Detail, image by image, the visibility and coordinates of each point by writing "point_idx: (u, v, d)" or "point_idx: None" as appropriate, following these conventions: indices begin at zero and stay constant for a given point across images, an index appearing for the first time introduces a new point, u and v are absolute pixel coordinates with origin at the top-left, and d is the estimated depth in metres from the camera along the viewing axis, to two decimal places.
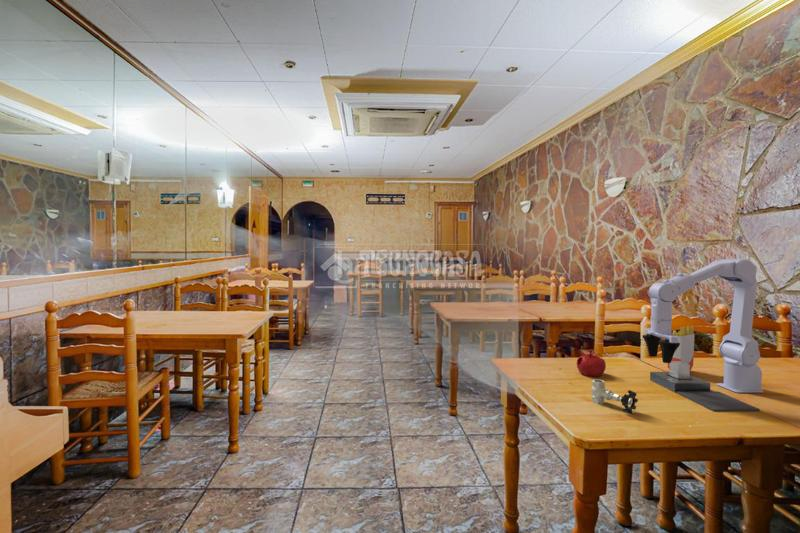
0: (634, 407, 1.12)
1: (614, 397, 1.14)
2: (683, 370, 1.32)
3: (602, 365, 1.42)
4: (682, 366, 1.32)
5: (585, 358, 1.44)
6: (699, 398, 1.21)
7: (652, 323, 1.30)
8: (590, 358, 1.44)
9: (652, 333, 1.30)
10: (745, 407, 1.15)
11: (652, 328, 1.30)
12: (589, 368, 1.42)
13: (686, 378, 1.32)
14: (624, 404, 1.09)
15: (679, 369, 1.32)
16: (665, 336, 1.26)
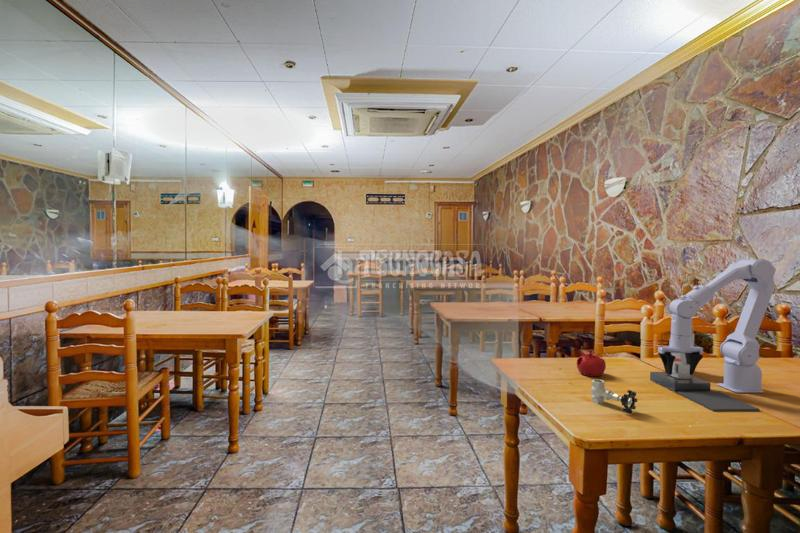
0: (634, 407, 1.12)
1: (614, 397, 1.14)
2: (683, 370, 1.32)
3: (602, 365, 1.42)
4: (682, 366, 1.32)
5: (585, 358, 1.44)
6: (699, 398, 1.21)
7: None
8: (590, 358, 1.44)
9: None
10: (745, 407, 1.15)
11: None
12: (589, 368, 1.42)
13: (686, 378, 1.32)
14: (624, 404, 1.10)
15: (679, 369, 1.32)
16: None
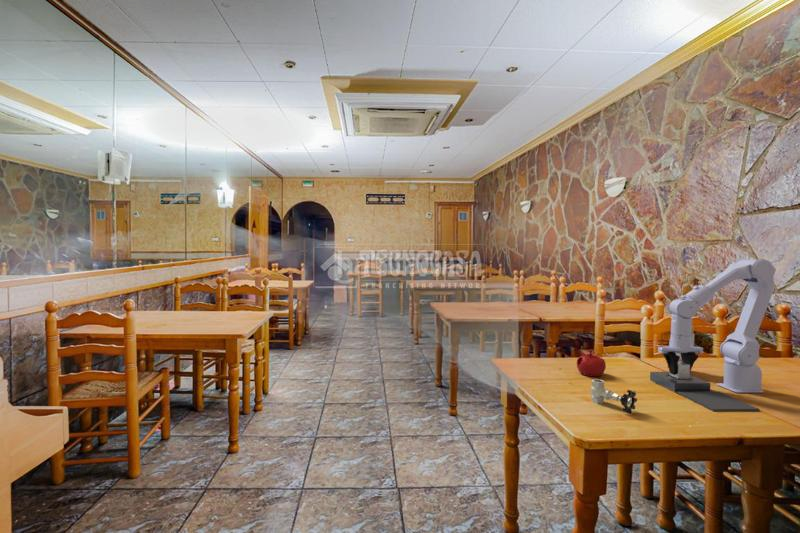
0: (633, 407, 1.12)
1: (613, 397, 1.15)
2: (683, 370, 1.32)
3: (602, 365, 1.42)
4: (682, 366, 1.32)
5: (585, 358, 1.44)
6: (699, 398, 1.21)
7: None
8: (590, 358, 1.44)
9: None
10: (745, 407, 1.15)
11: None
12: (589, 368, 1.42)
13: (686, 378, 1.32)
14: (623, 404, 1.10)
15: (679, 369, 1.32)
16: None
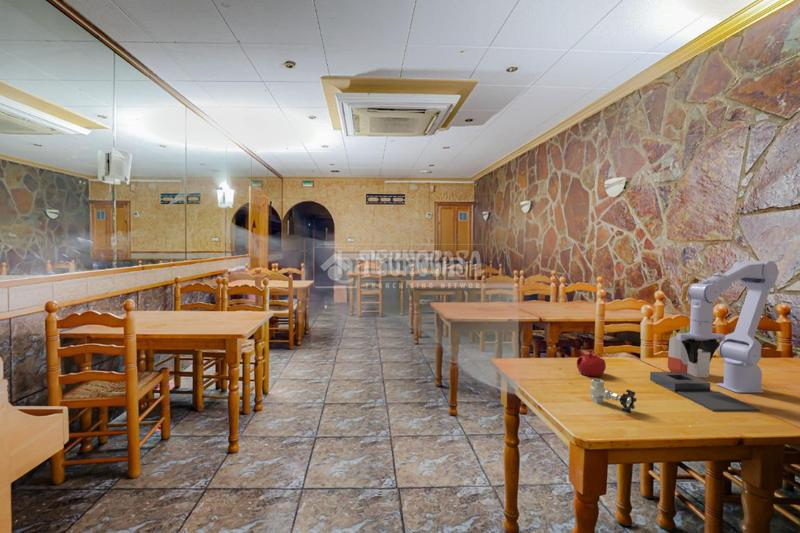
0: (633, 406, 1.12)
1: (613, 396, 1.15)
2: (703, 358, 1.25)
3: (602, 365, 1.42)
4: (702, 354, 1.24)
5: (585, 358, 1.44)
6: (699, 398, 1.21)
7: None
8: (590, 358, 1.44)
9: (690, 333, 1.29)
10: (745, 407, 1.15)
11: None
12: (589, 368, 1.42)
13: (706, 367, 1.25)
14: (623, 403, 1.10)
15: (699, 357, 1.24)
16: None
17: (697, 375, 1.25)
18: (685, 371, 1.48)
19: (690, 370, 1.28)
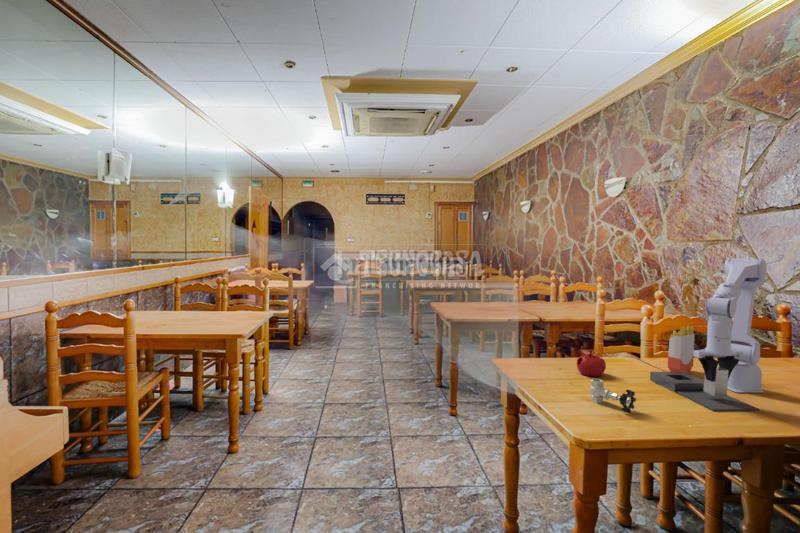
0: (632, 406, 1.12)
1: (612, 396, 1.15)
2: (721, 376, 1.18)
3: (602, 365, 1.42)
4: (720, 372, 1.18)
5: (585, 358, 1.44)
6: (699, 398, 1.21)
7: None
8: (590, 358, 1.44)
9: (706, 349, 1.23)
10: (745, 407, 1.15)
11: None
12: (589, 368, 1.42)
13: (724, 385, 1.19)
14: (622, 403, 1.10)
15: (717, 375, 1.18)
16: None
17: (715, 394, 1.19)
18: (685, 371, 1.48)
19: (706, 388, 1.21)
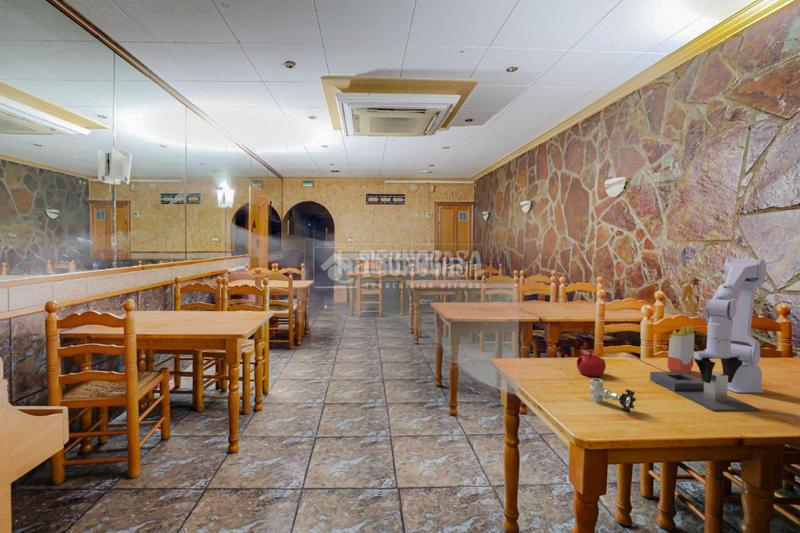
0: (632, 406, 1.13)
1: (612, 396, 1.15)
2: (721, 382, 1.19)
3: (602, 365, 1.42)
4: (720, 377, 1.19)
5: (585, 358, 1.44)
6: (699, 398, 1.21)
7: None
8: (590, 358, 1.44)
9: None
10: (745, 407, 1.15)
11: None
12: (589, 368, 1.42)
13: (724, 391, 1.19)
14: (622, 403, 1.10)
15: (717, 381, 1.19)
16: None
17: (715, 400, 1.19)
18: (685, 371, 1.48)
19: (706, 394, 1.21)
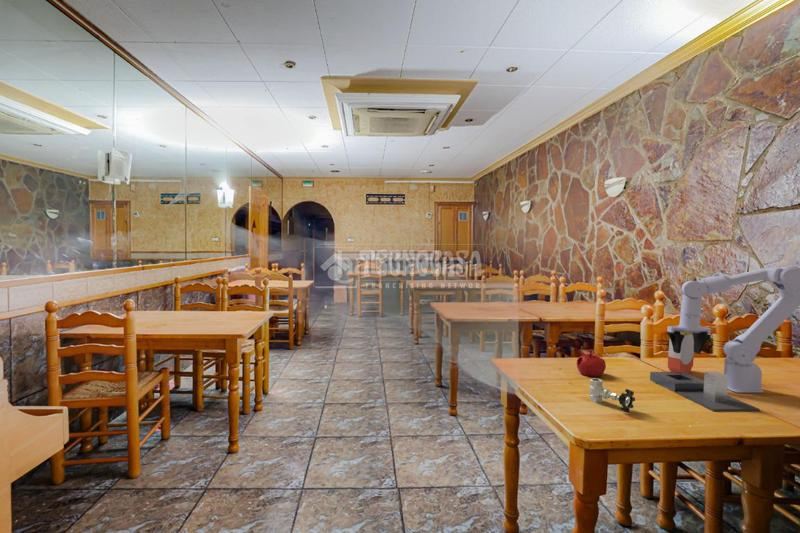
0: (631, 406, 1.13)
1: (612, 396, 1.15)
2: (721, 382, 1.19)
3: (602, 365, 1.42)
4: (720, 377, 1.19)
5: (585, 358, 1.44)
6: (699, 398, 1.21)
7: None
8: (590, 358, 1.44)
9: None
10: (745, 407, 1.15)
11: None
12: (589, 368, 1.42)
13: (724, 391, 1.19)
14: (621, 403, 1.10)
15: (717, 381, 1.19)
16: None
17: (715, 400, 1.19)
18: (685, 371, 1.48)
19: (706, 394, 1.21)
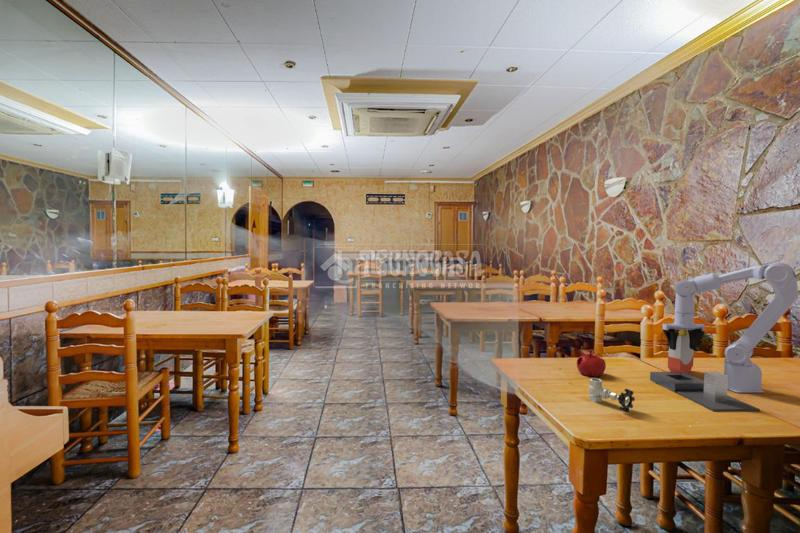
0: (631, 405, 1.13)
1: (611, 396, 1.15)
2: (721, 382, 1.19)
3: (602, 365, 1.42)
4: (720, 377, 1.19)
5: (585, 358, 1.44)
6: (699, 398, 1.21)
7: None
8: (590, 358, 1.44)
9: None
10: (745, 407, 1.15)
11: None
12: (589, 368, 1.42)
13: (724, 391, 1.19)
14: (621, 402, 1.11)
15: (717, 381, 1.19)
16: None
17: (715, 400, 1.19)
18: (685, 371, 1.48)
19: (706, 394, 1.21)
